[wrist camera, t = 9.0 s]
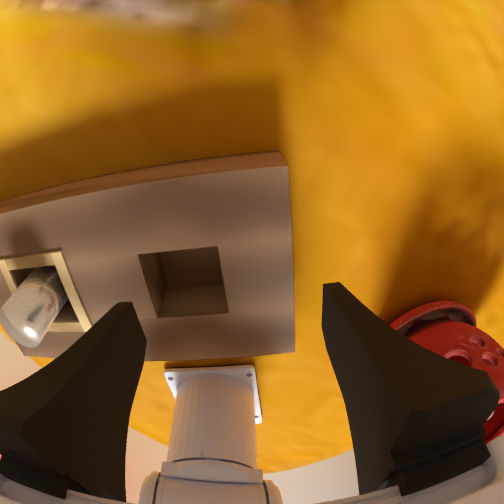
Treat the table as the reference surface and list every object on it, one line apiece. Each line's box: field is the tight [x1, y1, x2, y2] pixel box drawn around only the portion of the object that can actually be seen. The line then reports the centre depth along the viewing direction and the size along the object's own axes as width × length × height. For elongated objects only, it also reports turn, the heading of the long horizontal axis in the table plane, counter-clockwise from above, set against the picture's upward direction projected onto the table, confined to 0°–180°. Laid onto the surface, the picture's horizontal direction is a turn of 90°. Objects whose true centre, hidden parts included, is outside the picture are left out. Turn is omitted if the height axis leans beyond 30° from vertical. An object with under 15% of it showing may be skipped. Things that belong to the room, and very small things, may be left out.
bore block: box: [0, 151, 295, 361], centre depth 19 cm, size 12×22×4 cm, turn 95°
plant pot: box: [389, 301, 504, 444], centre depth 21 cm, size 13×13×12 cm
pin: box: [0, 265, 68, 348], centre depth 18 cm, size 3×3×7 cm
